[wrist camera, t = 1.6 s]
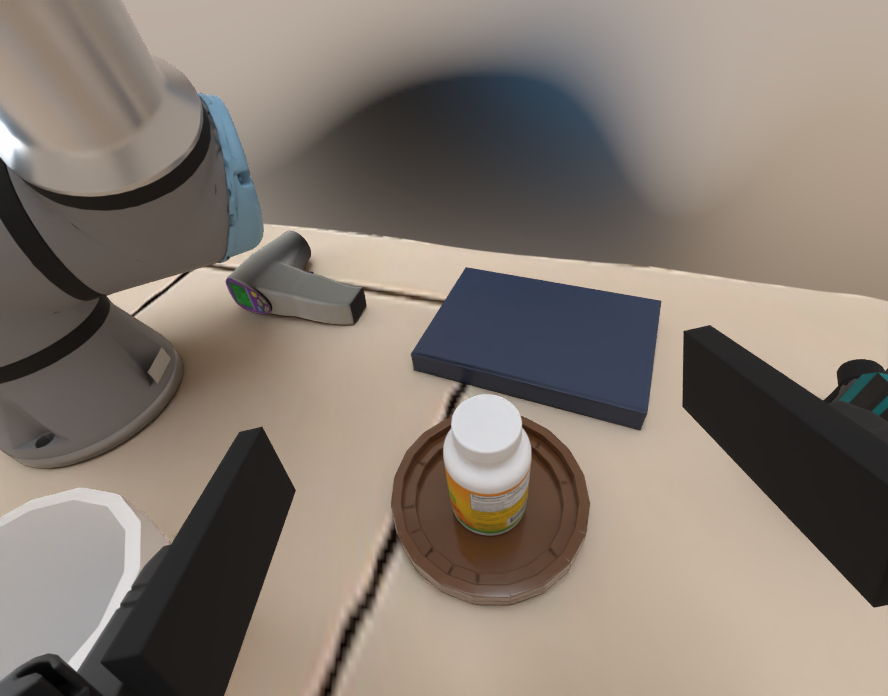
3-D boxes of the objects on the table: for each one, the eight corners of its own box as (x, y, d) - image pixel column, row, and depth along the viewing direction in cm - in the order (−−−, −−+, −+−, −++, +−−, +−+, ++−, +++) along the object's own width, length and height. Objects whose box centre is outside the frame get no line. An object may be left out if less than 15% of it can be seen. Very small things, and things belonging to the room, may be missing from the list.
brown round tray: (357, 521, 31) (351, 510, 30) (467, 398, 38) (466, 385, 37) (520, 658, 25) (522, 652, 23) (616, 480, 32) (621, 468, 30)
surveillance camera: (992, 293, 25) (1061, 429, 19) (866, 417, 34) (886, 537, 28) (869, 273, 27) (897, 389, 21) (780, 394, 36) (781, 501, 30)
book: (414, 370, 41) (410, 353, 39) (466, 283, 50) (465, 267, 48) (640, 430, 34) (647, 413, 33) (655, 317, 43) (661, 300, 42)
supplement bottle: (450, 467, 33) (438, 386, 26) (521, 464, 33) (527, 381, 26) (451, 539, 30) (438, 466, 23) (531, 536, 29) (542, 461, 22)
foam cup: (145, 582, 29) (-14, 492, 20) (279, 576, 29) (178, 481, 20) (60, 779, 23) (-235, 780, 14) (232, 775, 22) (48, 773, 13)
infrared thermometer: (351, 338, 46) (231, 312, 49) (393, 271, 54) (288, 253, 57) (343, 305, 43) (215, 279, 46) (389, 239, 51) (277, 221, 54)
